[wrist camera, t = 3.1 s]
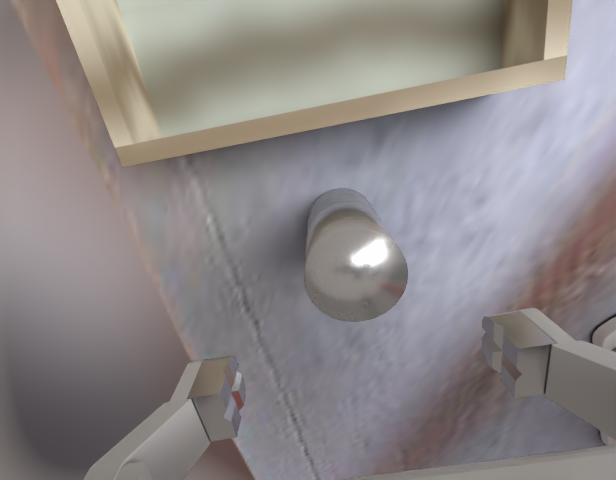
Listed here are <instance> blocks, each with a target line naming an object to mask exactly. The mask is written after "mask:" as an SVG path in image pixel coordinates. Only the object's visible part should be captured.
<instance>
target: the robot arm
mask: <svg viewBox="0 0 616 480" xmlns="http://www.w3.org/2000/svg"><path fill="white" fill-rule="evenodd" d="M482 328H483V329H484V330H485V331H486V333H485V335H484V336H483V337H482V349H483V353H484V356H485V358H486V360H487V362H488V363H489V365H490V366H491V368H492V369H494V370H496V371H498V372H500V373H501V381H502V382H503V384H504V385H505V386H506V388H507V389H508V390H509V392H510V393H511V394H512V396H513V397H514V398H521V397H530V396H539V395H545V397H547V398H549V399H550V400H552V401H554V402H555V403H557V404H558V405H560V406H562V407H563V408H565V409H566V410H568V411H570V412H571V413H573V414H574V415H576V416H578V417H579V418H581V419H582V420H584V421H586V422H587V423H589V424H590V425H592V426H594V427H595V428H597V429H598V430H600V433H601V439H602V441H603V442H604V443H605V444H606V446H598V447H590V448H582V449H575V450H567V451H559V452H551V453H543V454H536V455H528V456H520V457H513V458H505V459H497V460H490V461H482V462H474V463H466V464H459V465H451V466H443V467H436V468H428V469H420V470H412V471H405V472H397V473H389V474H381V475H374V476H366V477H358V478H350V479H343V480H616V317H614V318H612V319H610V320H609V321H607V322H606V323H604V324H603V325H601V326H600V327H599V328H598V329H597V330H596V331H595V332H594V334H593V337H592V342H593V344H591V343H588V342H585V341H583V340H580V341H576V340H575V339H573V338H572V337H571V336H570V335H569V334H567V333H566V332H565V331H564V330H562V329H561V328H560V327H559V326H558V325H556V324H555V323H554V322H553V321H551V320H550V319H549V318H548V317H547V316H545V315H544V314H543V313H542V312H540V311H539V310H538V309H536V308H528V309H523V310H517V311H514V312H507V313H501V314H495V315H489V316H484V318H483V320H482ZM238 366H239V364H238V361H237V359H236V357H235V356H226V357H218V358H211V359H205V360H197V361H191V362H190V363H188V364H187V366H186V368H185V370H184V372H183V374H182V376H181V379H180V381H179V383H178V385H177V387H176V389H175V391H174V393H173V395H172V397H171V399H170V402H165V403H164V404H163V405H161V406H160V407H159V408H158V409H157V410H156V411H155V412H153V413H152V414H151V415H150V416H149V417H148V418H146V419H145V420H144V421H143V422H142V423H141V424H140V425H138V427H136V428H135V429H134V430H133V431H132V432H130V433H129V434H128V435H127V436H126V437H125V438H124V439H122V440H121V441H120V442H119V443H118V444H117V445H116V446H115V447H113V448H112V449H111V450H110V451H109V452H107V453H106V454H105V455H104V456H103V457H102V458H101V459H99V460H98V461H97V462H96V463H95V464H94V465H93V466H91V468H90V469H89V471H88V473H87V474H86V476H85V477H84V479H83V480H184V478H185V477H186V476H187V474H188V473H189V471H190V470H191V469H192V468H193V466H194V465H195V464H196V462H197V461H198V459H199V458H200V457H201V455H202V454H203V453H204V451H205V450H206V449H207V447H208V446H209V444H210V442H212V441H217V440H223V439H229V438H235V437H237V434H238V430H239V425H240V420H241V416H240V413H239V410H240V409H241V408H242V406H243V405H244V401H245V382H244V378H243V375H242V374H241V373H239V372H238V371H237V370H238Z"/></svg>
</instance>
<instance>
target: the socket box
mask: <svg viewBox="0 0 616 480" xmlns="http://www.w3.org/2000/svg"><path fill="white" fill-rule="evenodd" d="M56 1H57V4H58V6H59V9H60V12H61V14H62V17H63V19H64V22H65V24H66V27H67V29H68V32H69V34H70V37H71V39H72V42H73V44H74V47H75V49H76V52H77V54H78V57H79V59H80V62H81V64H82V67H83V69H84V72H85V74H86V77H87V79H88V82H89V85H90V87H91V90H92V92H93V95H94V97H95V100H96V102H97V105H98V107H99V110H100V112H101V115H102V117H103V120H104V122H105V125H106V127H107V130H108V132H109V135H110V137H111V140H112V142H113V145H114V147H115V150H116V152H117V155H118V158H119V160H120V163H121V165H122V167H127V166H132V165H137V164H142V163H147V162H152V161H157V160H162V159H167V158H172V157H177V156H182V155H187V154H192V153H197V152H202V151H207V150H212V149H217V148H222V147H227V146H232V145H237V144H243V143H248V142H253V141H258V140H263V139H268V138H273V137H278V136H283V135H288V134H293V133H298V132H303V131H308V130H313V129H318V128H323V127H328V126H333V125H338V124H343V123H348V122H353V121H359V120H364V119H369V118H374V117H379V116H384V115H389V114H394V113H399V112H404V111H409V110H414V109H419V108H424V107H429V106H434V105H439V104H444V103H449V102H454V101H459V100H464V99H469V98H475V97H480V96H485V95H490V94H495V93H500V92H505V91H510V90H515V89H520V88H525V87H530V86H535V85H540V84H545V83H550V82H555V81H560V80H565V71H566V61H567V51H568V40H569V30H570V20H571V10H572V0H56Z"/></svg>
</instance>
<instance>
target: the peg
mask: <svg viewBox="0 0 616 480" xmlns="http://www.w3.org/2000/svg"><path fill="white" fill-rule="evenodd" d="M407 279H408V268H407V263H406V260H405V258H404V256H403V254H402V252H401V250H400V249H399V247H398V246H397V244H396V243H395V241H394V240H393V238H392V236H391V235H390V233H389V232H388V230H387V229H386V227H385V226H384V224H383V223H382V221H381V219H380V218H379V216H378V215H377V213H376V212H375V210H374V209H373V207H372V205H371V204H370V202H369V201H368V200H367V199H366V198H365V197H364V196H363V195H362V194H360V193H359V192H357V191H354V190H351V189H346V188H339V189H333V190H330V191H328V192H326V193H324V194H322V195H321V196H320V197H319V198H318V199H317V200H316V201H315V202H314V203H313V205H312V207H311V209H310V212H309V216H308V227H307V243H306V258H305V274H304V281H305V287H306V291H307V293H308V296H309V298H310V299H311V301H312V302H313V303H314V305H315V306H316V307H317V308H318V309H319V310H321V311H322V312H323V313H325V314H326V315H328V316H330V317H333V318H335V319H338V320H342V321H350V322H357V321H365V320H369V319H373V318H375V317H378V316H380V315H382V314H384V313H385V312H387V311H388V310H389V309H391V308H392V307H393V306H394V305H395V304H396V303H397V302H398V300H399V299H400V298H401V296H402V294H403V292H404V290H405V288H406V284H407Z"/></svg>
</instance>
